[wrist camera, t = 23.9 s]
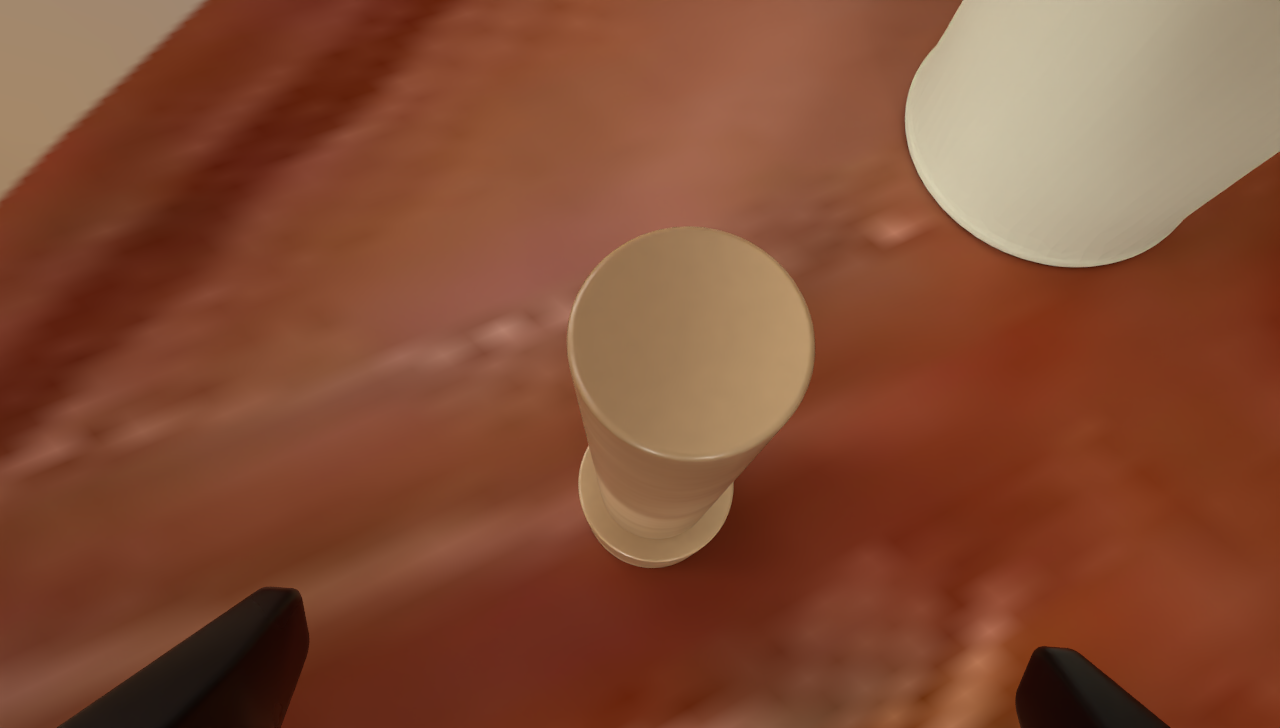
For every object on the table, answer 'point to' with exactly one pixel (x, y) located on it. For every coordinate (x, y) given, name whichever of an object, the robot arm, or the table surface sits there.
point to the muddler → (681, 384)
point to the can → (1093, 119)
